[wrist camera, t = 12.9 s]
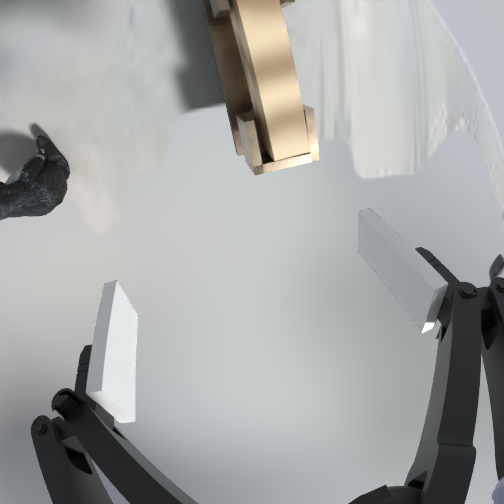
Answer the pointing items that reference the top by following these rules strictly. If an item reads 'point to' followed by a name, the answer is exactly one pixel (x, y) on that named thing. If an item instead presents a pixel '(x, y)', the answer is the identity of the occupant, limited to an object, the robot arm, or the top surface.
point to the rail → (270, 76)
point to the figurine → (35, 183)
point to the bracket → (247, 95)
